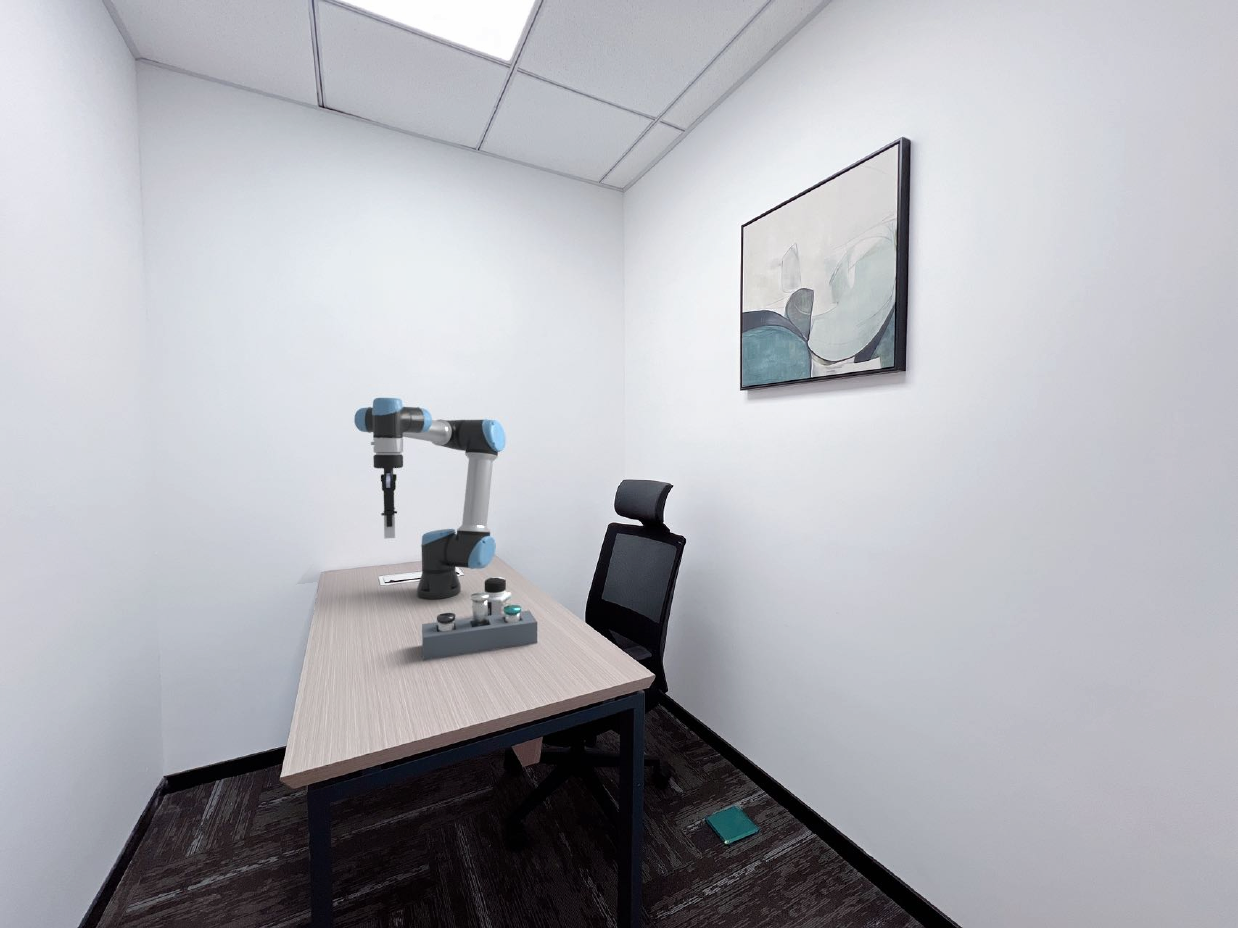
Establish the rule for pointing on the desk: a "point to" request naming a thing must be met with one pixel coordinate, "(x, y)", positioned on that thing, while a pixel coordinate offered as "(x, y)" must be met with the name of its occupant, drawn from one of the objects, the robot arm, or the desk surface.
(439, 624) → the knob black
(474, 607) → the knob ivory
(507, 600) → the container
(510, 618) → the knob teal
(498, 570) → the desk surface
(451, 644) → the mount
